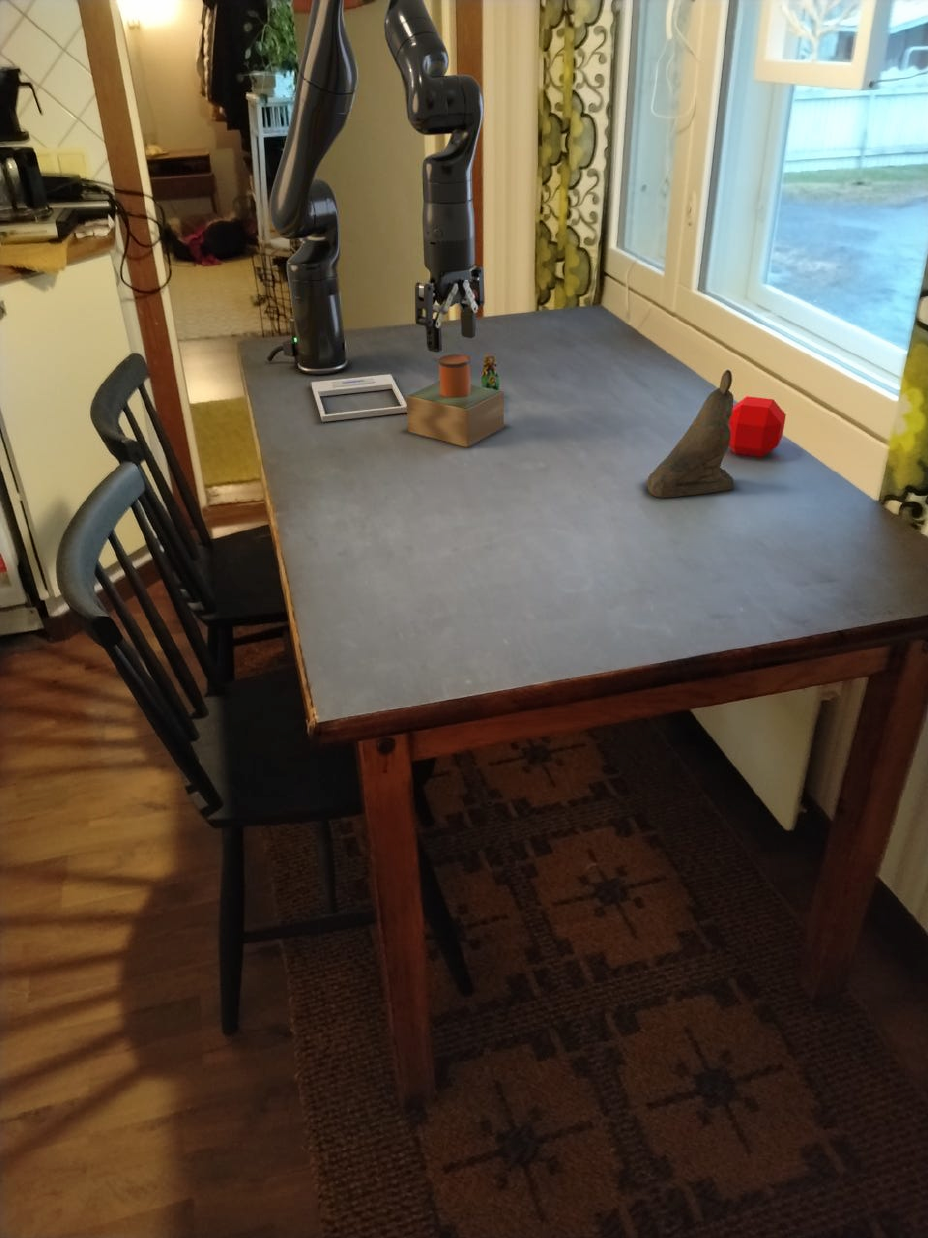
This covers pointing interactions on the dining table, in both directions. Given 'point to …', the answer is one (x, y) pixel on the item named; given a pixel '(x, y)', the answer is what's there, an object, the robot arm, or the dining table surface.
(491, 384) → the figurine
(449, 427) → the riser block
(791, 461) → the dining table surface
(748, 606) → the dining table surface
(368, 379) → the photo frame
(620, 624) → the dining table surface
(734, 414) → the ball
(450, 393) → the orange tin
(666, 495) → the brown carved statuette
